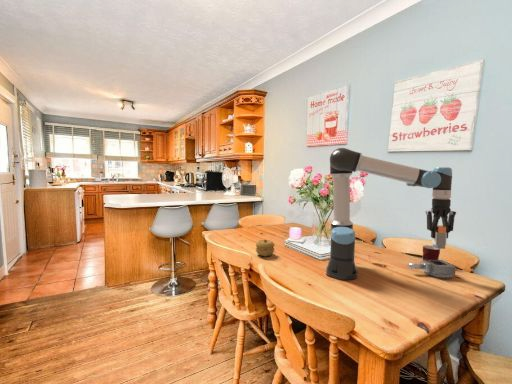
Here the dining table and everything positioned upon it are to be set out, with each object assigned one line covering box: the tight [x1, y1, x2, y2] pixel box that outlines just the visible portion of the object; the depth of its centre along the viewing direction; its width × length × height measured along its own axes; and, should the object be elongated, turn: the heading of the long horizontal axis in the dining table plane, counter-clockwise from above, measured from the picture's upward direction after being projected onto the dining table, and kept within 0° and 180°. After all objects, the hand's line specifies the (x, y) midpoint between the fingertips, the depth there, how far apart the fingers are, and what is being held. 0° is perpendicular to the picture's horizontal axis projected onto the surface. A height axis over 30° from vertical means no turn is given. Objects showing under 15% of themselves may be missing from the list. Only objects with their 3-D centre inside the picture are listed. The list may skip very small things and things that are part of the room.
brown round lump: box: [255, 238, 275, 257], centre depth 160 cm, size 12×12×10 cm
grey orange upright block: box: [432, 224, 447, 250], centre depth 128 cm, size 4×4×11 cm
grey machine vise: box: [407, 259, 457, 280], centre depth 132 cm, size 21×12×6 cm, turn 86°
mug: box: [421, 244, 441, 260], centre depth 145 cm, size 11×8×10 cm
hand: (439, 244), depth 129 cm, fingers closed on grey orange upright block, 4 cm apart
